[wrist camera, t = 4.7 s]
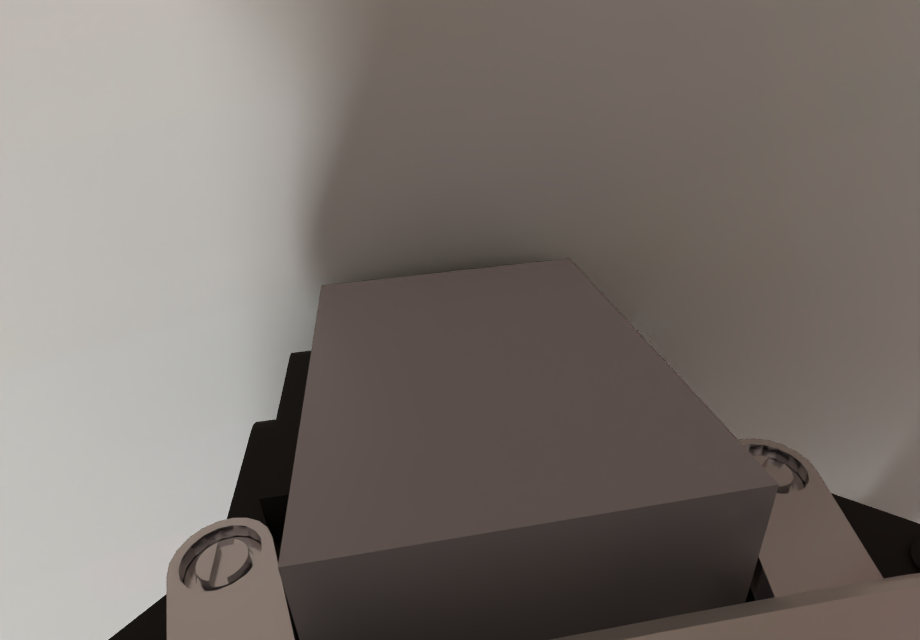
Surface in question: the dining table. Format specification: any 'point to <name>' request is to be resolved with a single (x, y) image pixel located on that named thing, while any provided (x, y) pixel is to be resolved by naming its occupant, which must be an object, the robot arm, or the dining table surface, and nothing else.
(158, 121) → the dining table surface
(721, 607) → the robot arm
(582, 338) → the grey squarish block
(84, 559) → the dining table surface
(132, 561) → the dining table surface
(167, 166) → the dining table surface
